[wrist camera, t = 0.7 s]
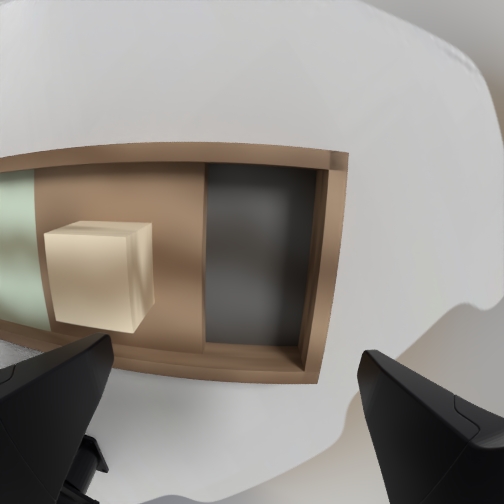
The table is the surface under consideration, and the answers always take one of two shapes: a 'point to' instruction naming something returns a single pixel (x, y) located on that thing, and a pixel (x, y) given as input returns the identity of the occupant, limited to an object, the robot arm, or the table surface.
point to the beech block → (101, 273)
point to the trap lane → (188, 252)
